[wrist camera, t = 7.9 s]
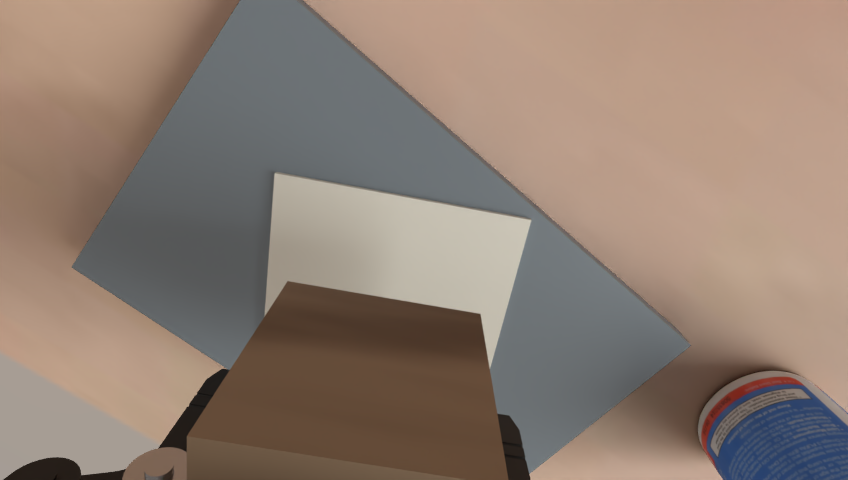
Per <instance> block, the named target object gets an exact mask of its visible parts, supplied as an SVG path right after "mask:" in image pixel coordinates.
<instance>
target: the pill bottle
mask: <svg viewBox="0 0 848 480" xmlns="http://www.w3.org/2000/svg"><path fill="white" fill-rule="evenodd" d="M698 435H699V440H700V443H701V445H702V447H703V449H704V451H705V453H706V455H707V456H708V458H709V459H710V461H711V462H712V464H713V465H714V467H715V468H716V470H717V471H718V473H719V474H720V476H721V477H722V478H723V480H848V413H847V412H846V411H845V410H844V409H843V408H842V407H840V406H839V405H838V404H837V403H836V402H835V401H834V400H832V399H831V398H830V397H829V396H828V395H827V394H826V393H824V392H823V391H822V390H821V389H820V388H818V387H817V386H816V385H814V384H813V383H812V382H810V381H809V380H807V379H805V378H803V377H801V376H799V375H796V374H793V373H788V372H783V371H763V372H758V373H753V374H750V375H747V376H744V377H741V378H739V379H737V380H735V381H733V382H731V383H729V384H728V385H726V386H724V387H723V388H722V389H720V390H719V391H718V392H717V393H716V394H715V395H714V396H713V397H712V398H711V399H710V400H709V401H708V403H707V404H706V405H705V407H704V409H703V410H702V413H701V415H700V418H699V423H698Z"/></svg>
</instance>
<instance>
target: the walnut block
mask: <svg viewBox="0 0 848 480" xmlns="http://www.w3.org/2000/svg"><path fill="white" fill-rule="evenodd" d="M187 480H508V474H507V468H506V462H505V456H504V450H503V444H502V439H501V433H500V427H499V421H498V415H497V409H496V403H495V397H494V391H493V385H492V379H491V374H490V368H489V362H488V356H487V350H486V344H485V338H484V332H483V326H482V320H481V314H479V313H473V312H467V311H461V310H455V309H449V308H443V307H437V306H431V305H426V304H420V303H414V302H408V301H402V300H396V299H390V298H384V297H379V296H373V295H367V294H361V293H355V292H349V291H343V290H337V289H332V288H326V287H320V286H314V285H308V284H302V283H296V282H290V281H287V283H286V284H285V286H284V287H283V289H282V290H281V292H280V294H279V295H278V297H277V298H276V300H275V301H274V303H273V304H272V306H271V307H270V309H269V310H268V312H267V314H266V315H265V317H264V318H263V320H262V321H261V323H260V324H259V326H258V327H257V329H256V331H255V332H254V334H253V335H252V337H251V338H250V340H249V341H248V343H247V344H246V346H245V347H244V349H243V351H242V352H241V354H240V355H239V357H238V358H237V360H236V361H235V363H234V364H233V366H232V367H231V369H230V371H229V372H228V374H227V375H226V377H225V378H224V380H223V381H222V383H221V384H220V386H219V387H218V389H217V391H216V392H215V394H214V395H213V397H212V398H211V400H210V401H209V403H208V404H207V406H206V408H205V409H204V411H203V412H202V414H201V415H200V417H199V418H198V420H197V421H196V423H195V424H194V426H193V428H192V429H191V431H190V432H189V434H188V435H187Z"/></svg>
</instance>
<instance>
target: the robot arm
mask: <svg viewBox="0 0 848 480" xmlns="http://www.w3.org/2000/svg"><path fill="white" fill-rule="evenodd" d="M229 371H230V370H227V369H221V370H220V371H218V372H217V373H215V374H214V375H212V376H211V377H209V378H208V379H207V380H206V381H205V382H204V384H203V385H202V387H201V388H200V390H199V391H198V392H197V395H195V397H194V398H193V400H192V401H191V402H190V404H189V407H187V408H186V410H185V411H184V412H183V414H182V415H181V417H180V418H179V420H178V421H177V422H176V424H175V425H174V427H173V428H172V430H171V431H170V432H169V434H168V435H167V437H166V438H165V440H164V441H163V442H162V444H161V445H160V447H159V448H158V449H154V450H151V451H149V452H146V453H144V454H142V455H140V456H139V457H137V458H136V459H135V460H133V462H131V464H129V466H128V467H127V468H126V469H124V470H121V471H115V472H108V473H99V474H90V475H81V470H80V467H79V466H78V465H77V464H76V463H75V462H74V461H72V460H70V459H66V458H58V457H57V458H46V459H42V460H38V461H35V462H32V463H29V464H27V465H25V466H23V467H21V468H19V469H17V470H16V471H14V472H13V473H12V474H10V475H9V476H8V477H6V478H5V479H4V480H187V435H188V434H189V432H190V431H191V429H192V428H193V426H194V424H195V423H196V421H197V420H198V418H199V417H200V415H201V414H202V412H203V411H204V409H205V408H206V406H207V404H208V403H209V401H210V400H211V398H212V397H213V395H214V394H215V392H216V391H217V389H218V387H219V386H220V384H221V383H222V381H223V380H224V378H225V377H226V375H227V374H228V372H229ZM497 415H498V421H499V427H500V433H501V439H502V444H503V450H504V456H505V462H506V468H507V474H508V480H530V476H529V471H528V466H527V462H526V460H525V453H524V448H523V447H522V446H523V444H522V439H521V435H520V430H519V429H518V427H517V426H516V424H515V423H514V421H513V420H512V419H511V417H510V416H509V415H503V414H497Z"/></svg>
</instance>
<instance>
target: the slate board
mask: <svg viewBox="0 0 848 480" xmlns="http://www.w3.org/2000/svg"><path fill="white" fill-rule="evenodd" d="M72 268H73V269H75V270H77V271H78V272H80V273H81V274H83V275H84V276H86V277H87V278H89V279H90V280H92V281H93V282H95V283H96V284H98V285H99V286H101V287H103V288H104V289H106V290H107V291H109V292H110V293H112V294H113V295H115V296H116V297H118V298H119V299H121V300H122V301H124V302H126V303H127V304H129V305H130V306H132V307H133V308H135V309H136V310H138V311H139V312H141V313H142V314H144V315H145V316H147V317H149V318H150V319H152V320H153V321H155V322H156V323H158V324H159V325H161V326H162V327H164V328H165V329H167V330H168V331H170V332H172V333H173V334H175V335H176V336H178V337H179V338H181V339H182V340H184V341H185V342H187V343H188V344H190V345H191V346H193V347H195V348H196V349H198V350H199V351H201V352H202V353H204V354H205V355H207V356H208V357H210V358H211V359H213V360H214V361H216V362H218V363H219V364H221V365H222V366H224V367H225V368H227V369H228V370H230V369H231V367H232V366H233V364H234V363H235V361H236V360H237V358H238V357H239V355H240V354H241V352H242V351H243V349H244V347H245V346H246V344H247V343H248V341H249V340H250V338H251V337H252V335H253V334H254V332H255V331H256V329H257V327H258V326H259V324H260V323H261V321H262V320H263V318H264V317H265V315H266V314H267V312H268V310H269V309H270V307H271V306H272V304H273V303H274V301H275V300H276V298H277V297H278V295H279V294H280V292H281V290H282V289H283V287H284V286H285V284H286V283H287V281H290V282H296V283H302V284H308V285H314V286H320V287H326V288H332V289H337V290H343V291H349V292H355V293H361V294H367V295H373V296H379V297H384V298H390V299H396V300H402V301H408V302H414V303H420V304H426V305H431V306H437V307H443V308H449V309H455V310H461V311H467V312H473V313H479V314H481V320H482V326H483V332H484V338H485V344H486V350H487V356H488V362H489V368H490V374H491V379H492V385H493V391H494V397H495V403H496V409H497V414H503V415H509V416H510V417H511V419H512V420H513V421H514V423H515V424H516V426H517V427H518V429H519V430H520V435H521V439H522V444H523V446H522V447H523V448H524V453H525V460H526V462H527V466H528V471H529V474H530V473H531V472H532V471H534V470H535V469H536V468H537V467H539V466H540V465H541V464H542V463H544V462H545V461H546V460H547V459H549V458H550V457H551V456H552V455H554V454H555V453H556V452H557V451H559V450H560V449H561V448H563V447H564V446H565V445H566V444H568V443H569V442H570V441H571V440H573V439H574V438H575V437H576V436H578V435H579V434H580V433H581V432H583V431H584V430H585V429H586V428H588V427H589V426H590V425H592V424H593V423H594V422H595V421H597V420H598V419H599V418H600V417H602V416H603V415H604V414H605V413H607V412H608V411H609V410H610V409H612V408H613V407H614V406H615V405H617V404H618V403H619V402H621V401H622V400H623V399H624V398H626V397H627V396H628V395H629V394H631V393H632V392H633V391H634V390H636V389H637V388H638V387H639V386H641V385H642V384H643V383H644V382H646V381H647V380H648V379H650V378H651V377H652V376H653V375H655V374H656V373H657V372H658V371H660V370H661V369H662V368H663V367H665V366H666V365H667V364H668V363H670V362H671V361H672V360H673V359H675V358H676V357H677V356H679V355H680V354H681V353H682V352H684V351H685V350H686V349H687V348H689V347H690V346H691V345H690V344H689V343H688V341H687V340H686V339H685V338H684V337H683V336H682V334H681V333H680V332H679V331H678V330H677V329H676V328H675V327H674V326H673V325H672V324H671V323H669V322H668V321H667V320H666V319H665V318H664V317H663V316H661V315H660V314H659V313H658V312H657V311H656V310H655V309H653V308H652V307H651V306H650V305H649V304H648V303H647V302H646V301H644V300H643V299H642V298H641V297H640V296H639V295H638V294H636V293H635V292H634V291H633V290H632V289H631V288H630V287H628V286H627V285H626V284H625V283H624V282H623V281H622V280H620V279H619V278H618V277H617V276H616V275H615V274H614V273H612V272H611V271H610V270H609V269H608V268H607V267H606V266H605V265H603V264H602V263H601V262H600V261H599V260H598V259H597V258H595V257H594V256H593V255H592V254H591V253H590V252H589V251H587V250H586V249H585V248H584V247H583V246H582V245H581V244H579V243H578V242H577V241H576V240H575V239H574V238H573V237H572V236H570V235H569V234H568V233H567V232H566V231H565V230H564V229H562V228H561V227H560V226H559V225H558V224H557V223H556V222H554V221H553V220H552V219H551V218H550V217H549V216H548V215H546V214H545V213H544V212H543V211H542V210H541V209H540V208H538V207H537V206H536V205H535V204H534V203H533V202H532V201H531V200H529V199H528V198H527V197H526V196H525V195H524V194H523V193H521V192H520V191H519V190H518V189H517V188H516V187H515V186H513V185H512V184H511V183H510V182H509V181H508V180H507V179H505V178H504V177H503V176H502V175H501V174H500V173H499V172H498V171H496V170H495V169H494V168H493V167H492V166H491V165H490V164H488V163H487V162H486V161H485V160H484V159H483V158H482V157H480V156H479V155H478V154H477V153H476V152H475V151H474V150H472V149H471V148H470V147H469V146H468V145H467V144H466V143H465V142H463V141H462V140H461V139H460V138H459V137H458V136H457V135H455V134H454V133H453V132H452V131H451V130H450V129H449V128H447V127H446V126H445V125H444V124H443V123H442V122H441V121H439V120H438V119H437V118H436V117H435V116H434V115H433V114H431V113H430V112H429V111H428V110H427V109H426V108H425V107H424V106H422V105H421V104H420V103H419V102H418V101H417V100H416V99H414V98H413V97H412V96H411V95H410V94H409V93H408V92H406V91H405V90H404V89H403V88H402V87H401V86H400V85H398V84H397V83H396V82H395V81H394V80H393V79H392V78H391V77H389V76H388V75H387V74H386V73H385V72H384V71H383V70H381V69H380V68H379V67H378V66H377V65H376V64H375V63H373V62H372V61H371V60H370V59H369V58H368V57H367V56H365V55H364V54H363V53H362V52H361V51H360V50H359V49H357V48H356V47H355V46H354V45H353V44H352V43H351V42H350V41H348V40H347V39H346V38H345V37H344V36H343V35H342V34H340V33H339V32H338V31H337V30H336V29H335V28H334V27H332V26H331V25H330V24H329V23H328V22H327V21H326V20H324V19H323V18H322V17H321V16H320V15H319V14H318V13H317V12H315V11H314V10H313V9H312V8H311V7H310V6H309V5H307V4H306V3H305V2H304V1H303V0H240V2H239V3H238V5H237V6H236V8H235V9H234V11H233V13H232V14H231V16H230V17H229V19H228V20H227V22H226V24H225V25H224V27H223V28H222V30H221V32H220V33H219V35H218V36H217V38H216V39H215V41H214V43H213V44H212V46H211V47H210V49H209V51H208V52H207V54H206V55H205V57H204V58H203V60H202V62H201V63H200V65H199V66H198V68H197V70H196V71H195V73H194V74H193V76H192V77H191V79H190V81H189V82H188V84H187V85H186V87H185V89H184V90H183V92H182V93H181V95H180V96H179V98H178V100H177V101H176V103H175V104H174V106H173V108H172V109H171V111H170V112H169V114H168V115H167V117H166V119H165V120H164V122H163V123H162V125H161V126H160V128H159V130H158V131H157V133H156V134H155V136H154V138H153V139H152V141H151V142H150V144H149V145H148V147H147V149H146V150H145V152H144V153H143V155H142V157H141V158H140V160H139V161H138V163H137V164H136V166H135V168H134V169H133V171H132V172H131V174H130V176H129V177H128V179H127V180H126V182H125V183H124V185H123V187H122V188H121V190H120V191H119V193H118V195H117V196H116V198H115V199H114V201H113V202H112V204H111V206H110V207H109V209H108V210H107V212H106V214H105V215H104V217H103V218H102V220H101V221H100V223H99V225H98V226H97V228H96V229H95V231H94V232H93V234H92V236H91V237H90V239H89V240H88V242H87V244H86V245H85V247H84V248H83V250H82V251H81V253H80V255H79V256H78V258H77V259H76V261H75V263H74V264H73V266H72Z"/></svg>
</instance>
